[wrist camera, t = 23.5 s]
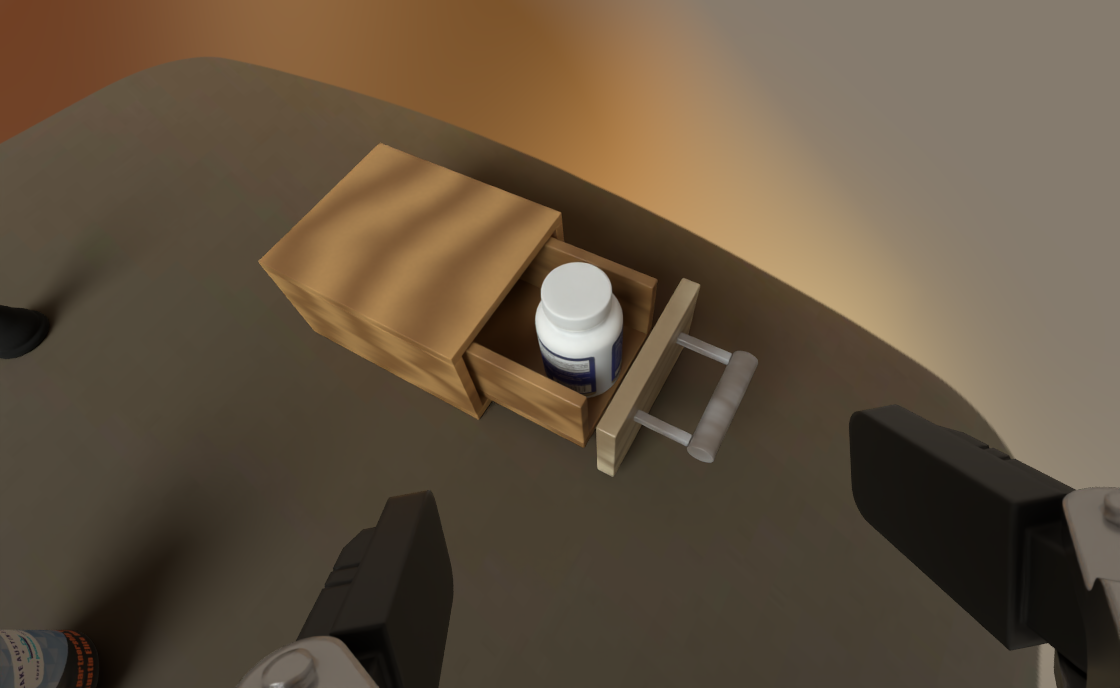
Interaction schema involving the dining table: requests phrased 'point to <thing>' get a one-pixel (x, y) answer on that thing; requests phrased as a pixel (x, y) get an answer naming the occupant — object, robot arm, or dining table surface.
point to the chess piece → (20, 331)
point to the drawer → (647, 359)
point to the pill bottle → (580, 329)
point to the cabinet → (410, 266)
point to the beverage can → (47, 659)
